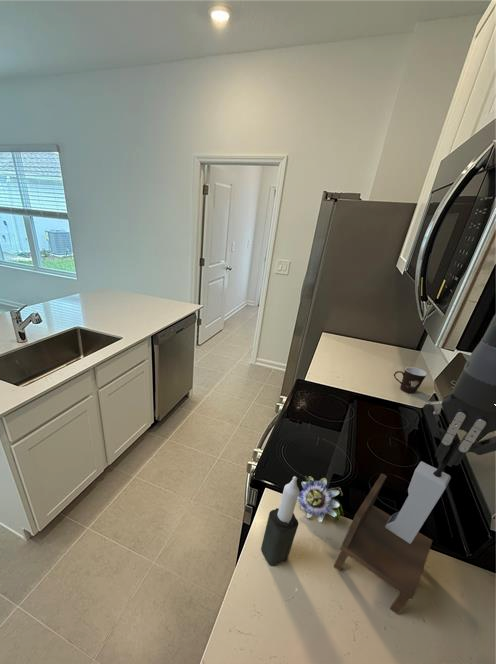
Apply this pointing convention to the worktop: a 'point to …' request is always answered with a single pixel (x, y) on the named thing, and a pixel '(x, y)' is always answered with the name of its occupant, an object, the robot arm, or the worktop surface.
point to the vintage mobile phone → (420, 498)
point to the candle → (281, 527)
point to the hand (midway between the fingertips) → (444, 461)
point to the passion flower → (319, 499)
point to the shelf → (384, 549)
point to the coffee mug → (411, 379)
